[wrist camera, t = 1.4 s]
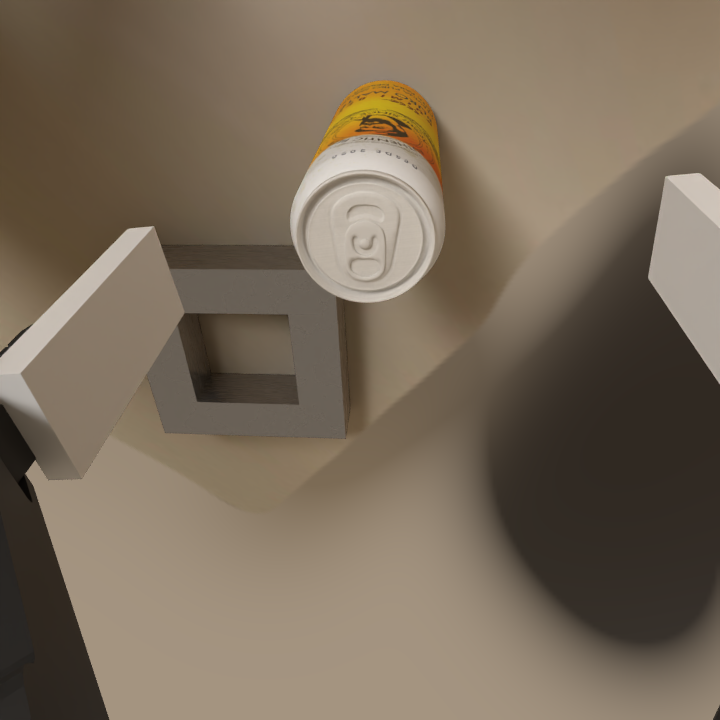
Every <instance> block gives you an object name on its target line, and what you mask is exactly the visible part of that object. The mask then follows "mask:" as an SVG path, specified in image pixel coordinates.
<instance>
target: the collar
mask: <svg viewBox="0 0 720 720" xmlns="http://www.w3.org/2000/svg"><path fill="white" fill-rule="evenodd" d="M161 247H162V250H163V253H164V256H165V258H166V261H167V264H168V267H169V270H170V273H171V275H172V278H173V281H174V284H175V287H176V289H177V292H178V295H179V298H180V301H181V304H182V306H183V309H184V312H185V313H184V315H183V316H182V318H181V320H180V321H179V323H178V324H177V326H176V328H175V329H174V331H173V332H172V334H171V336H170V337H169V339H168V341H167V342H166V344H165V345H164V347H163V349H162V350H161V352H160V353H159V355H158V357H157V358H156V360H155V362H154V363H153V365H152V366H151V368H150V370H149V371H148V373H147V377H148V380H149V383H150V386H151V389H152V393H153V396H154V399H155V402H156V405H157V409H158V412H159V415H160V418H161V421H162V425H163V428H164V431H165V433H182V434H213V435H244V436H276V437H307V438H338V439H346V433H347V427H348V420H349V413H350V396H349V380H348V363H347V347H346V330H345V314H344V299H342V298H340V297H337V296H335V295H333V294H331V293H329V292H328V291H326V290H325V289H323V288H322V287H321V286H320V285H318V284H317V283H316V282H315V281H314V280H313V279H312V278H311V276H310V275H309V274H308V273H307V271H306V270H305V268H304V266H303V264H302V262H301V260H300V258H299V256H298V254H297V252H296V249H295V247H294V246H259V245H161ZM197 313H213V314H288V319H289V327H290V335H291V343H292V351H293V358H294V366H295V374H296V375H262V374H217V373H211V371H210V367H209V362H208V358H207V354H206V349H205V345H204V341H203V337H202V332H201V328H200V324H199V319H198V315H197Z"/></svg>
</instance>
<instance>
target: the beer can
mask: <svg viewBox="0 0 720 720" xmlns="http://www.w3.org/2000/svg"><path fill="white" fill-rule="evenodd" d="M445 228H446V227H445V211H444V200H443V188H442V177H441V165H440V154H439V143H438V131H437V124H436V120H435V117H434V114H433V112H432V110H431V108H430V106H429V105H428V103H427V102H426V100H425V99H424V98H423V97H422V96H421V95H420V94H419V93H418V92H417V91H415V90H414V89H412V88H411V87H409V86H407V85H405V84H402V83H399V82H395V81H388V80H381V81H374V82H370V83H367V84H364V85H362V86H360V87H358V88H357V89H355V90H354V91H352V92H351V93H350V94H349V95H348V96H347V97H346V98H345V99H344V100H343V102H342V103H341V104H340V106H339V108H338V109H337V112H336V114H335V116H334V118H333V120H332V122H331V124H330V126H329V128H328V130H327V132H326V134H325V136H324V138H323V140H322V142H321V144H320V146H319V148H318V150H317V152H316V154H315V156H314V158H313V160H312V162H311V164H310V166H309V168H308V171H307V173H306V175H305V177H304V179H303V181H302V183H301V185H300V187H299V189H298V191H297V193H296V195H295V198H294V201H293V204H292V208H291V214H290V229H291V236H292V241H293V244H294V247H295V249H296V252H297V254H298V256H299V258H300V260H301V262H302V264H303V266H304V268H305V270H306V271H307V273H308V274H309V275H310V276H311V278H312V279H313V280H314V281H315V282H316V283H317V284H318V285H320V286H321V287H322V288H323V289H325V290H326V291H328V292H329V293H331V294H333V295H335V296H337V297H340V298H342V299H345V300H349V301H353V302H360V303H376V302H382V301H387V300H390V299H393V298H395V297H398V296H400V295H402V294H404V293H405V292H407V291H408V290H410V289H411V288H412V287H414V286H415V285H416V284H417V283H418V282H419V281H420V280H421V279H422V278H423V277H424V276H425V275H426V274H427V273H428V272H429V271H430V269H431V268H432V267H433V265H434V264H435V262H436V261H437V259H438V257H439V254H440V252H441V249H442V246H443V243H444V238H445Z"/></svg>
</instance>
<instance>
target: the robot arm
mask: <svg viewBox="0 0 720 720" xmlns="http://www.w3.org/2000/svg"><path fill="white" fill-rule="evenodd" d="M648 279H649V280H650V282H651V283H652V284H653V286H654V288H655V289H656V290H657V292H658V293H659V295H660V296H661V298H662V299H663V301H664V302H665V304H666V305H667V307H668V308H669V310H670V311H671V313H672V314H673V316H674V317H675V319H676V320H677V321H678V323H679V324H680V326H681V327H682V329H683V330H684V332H685V333H686V335H687V336H688V338H689V339H690V341H691V342H692V344H693V345H694V346H695V348H696V350H697V351H698V353H699V354H700V356H701V357H702V358H703V360H704V362H705V363H706V364H707V366H708V367H709V369H710V370H711V372H712V373H713V375H714V376H715V378H716V379H717V381H718V382H719V384H720V190H719V189H718V188H717V187H716V186H715V185H713V184H712V183H711V182H710V181H708V179H706V178H705V177H704V176H703V175H702V174H700V173H694V174H684V175H673V176H666V177H665V183H664V189H663V195H662V201H661V206H660V212H659V218H658V223H657V229H656V235H655V241H654V247H653V252H652V258H651V264H650V270H649V276H648ZM184 313H185V312H184V309H183V306H182V304H181V301H180V298H179V295H178V292H177V289H176V287H175V284H174V281H173V278H172V275H171V273H170V270H169V267H168V264H167V261H166V258H165V256H164V253H163V250H162V247H161V244H160V241H159V239H158V236H157V233H156V230H155V227H154V226H151V227H140V228H130V229H127V230H126V231H125V232H124V233H123V234H122V235H121V236H120V237H119V238H118V239H117V240H116V241H115V242H114V243H113V244H112V245H111V246H110V247H109V248H108V249H107V250H106V251H105V252H104V253H103V254H102V255H101V256H100V257H99V258H98V259H97V260H96V261H95V262H94V263H93V264H92V265H91V266H90V267H89V268H88V269H87V270H86V271H85V273H84V274H83V275H82V276H81V277H80V278H79V279H78V280H77V281H76V282H75V283H74V284H73V285H72V286H71V287H70V288H69V289H68V290H67V291H66V292H65V293H64V294H63V295H62V296H61V297H60V298H59V299H58V300H57V301H56V302H55V303H54V304H53V305H52V306H51V307H50V308H49V309H48V310H47V311H46V312H45V313H44V314H43V315H42V316H41V317H40V318H39V319H38V320H37V321H36V322H35V323H34V324H32V325H30V326H29V327H27V328H26V329H24V330H22V331H21V332H20V333H19V334H18V335H17V336H16V337H15V338H14V339H13V340H12V341H11V342H10V343H9V344H8V347H5V348H4V349H3V350H2V351H1V352H0V720H109V717H108V714H107V711H106V708H105V705H104V702H103V699H102V696H101V693H100V690H99V687H98V683H97V680H96V677H95V674H94V671H93V668H92V665H91V662H90V659H89V656H88V653H87V650H86V647H85V643H84V640H83V637H82V634H81V631H80V628H79V625H78V622H77V619H76V616H75V613H74V610H73V607H72V604H71V600H70V597H69V594H68V591H67V588H66V585H65V582H64V579H63V576H62V573H61V570H60V567H59V564H58V561H57V557H56V554H55V551H54V548H53V545H52V542H51V539H50V536H49V533H48V530H47V527H46V524H45V521H44V517H43V514H42V511H41V508H40V505H39V502H38V499H37V496H36V493H35V490H34V487H33V485H32V483H31V482H30V480H29V479H28V478H27V476H26V475H25V473H26V472H27V470H28V469H29V468H30V466H31V465H32V463H33V462H34V461H35V460H36V462H37V463H38V465H39V466H40V468H41V469H42V471H43V473H44V474H45V476H46V477H47V479H48V480H64V479H82V478H83V476H84V475H85V473H86V472H87V470H88V468H89V467H90V465H91V463H92V462H93V460H94V459H95V457H96V455H97V454H98V452H99V450H100V449H101V447H102V446H103V444H104V442H105V440H106V439H107V438H108V436H109V434H110V433H111V431H112V430H113V428H114V426H115V425H116V423H117V421H118V420H119V418H120V417H121V415H122V413H123V412H124V410H125V408H126V407H127V405H128V404H129V402H130V400H131V399H132V397H133V396H134V394H135V392H136V391H137V389H138V387H139V386H140V384H141V383H142V381H143V379H144V378H145V376H146V375H147V373H148V371H149V370H150V368H151V366H152V365H153V363H154V362H155V360H156V358H157V357H158V355H159V353H160V352H161V350H162V349H163V347H164V345H165V344H166V342H167V341H168V339H169V337H170V336H171V334H172V332H173V331H174V329H175V328H176V326H177V324H178V323H179V321H180V320H181V318H182V316H183V315H184ZM713 720H720V706H719V708H718V711H717V712H716V714H715V716H714V718H713Z"/></svg>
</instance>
